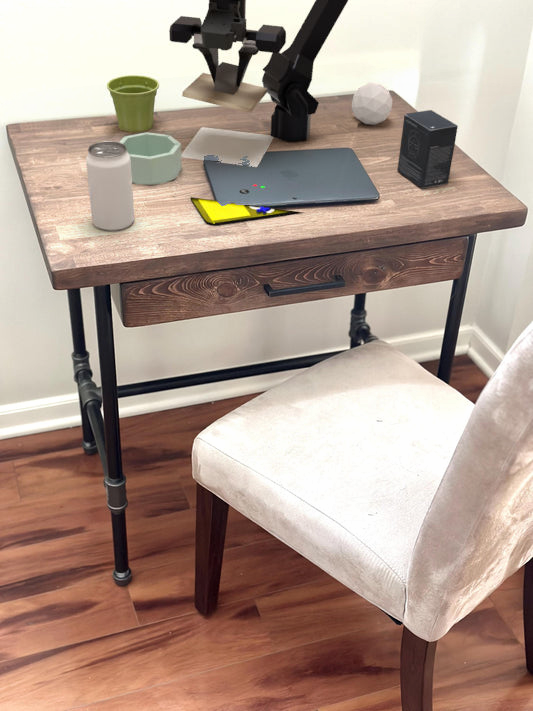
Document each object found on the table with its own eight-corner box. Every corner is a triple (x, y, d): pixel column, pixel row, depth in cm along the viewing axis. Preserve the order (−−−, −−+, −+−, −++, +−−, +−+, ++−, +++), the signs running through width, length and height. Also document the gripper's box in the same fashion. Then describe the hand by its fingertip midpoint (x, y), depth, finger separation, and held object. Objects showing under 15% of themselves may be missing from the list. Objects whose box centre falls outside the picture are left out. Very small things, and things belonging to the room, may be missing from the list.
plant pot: (152, 142, 158) (150, 95, 153) (103, 136, 160) (99, 90, 155) (167, 123, 166) (165, 78, 161) (120, 117, 167) (116, 73, 162)
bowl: (186, 167, 150) (186, 137, 147) (168, 192, 142) (167, 161, 139) (132, 160, 152) (130, 130, 149) (111, 184, 144) (108, 153, 141)
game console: (208, 231, 134) (208, 223, 133) (187, 200, 142) (186, 192, 141) (315, 214, 139) (315, 205, 138) (288, 185, 148) (288, 177, 147)
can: (93, 212, 136) (86, 139, 129) (135, 211, 137) (130, 139, 130) (90, 232, 131) (83, 158, 124) (133, 231, 132) (128, 158, 124)
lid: (266, 92, 154) (271, 65, 152) (250, 113, 145) (255, 84, 142) (202, 77, 156) (205, 50, 153) (182, 96, 146) (185, 67, 143)
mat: (274, 140, 161) (274, 135, 160) (256, 171, 150) (256, 167, 149) (201, 131, 163) (201, 126, 163) (179, 161, 152) (179, 156, 152)
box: (448, 184, 148) (459, 125, 142) (421, 190, 146) (430, 130, 140) (422, 166, 154) (431, 108, 148) (395, 171, 152) (403, 112, 146)
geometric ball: (359, 137, 170) (337, 105, 166) (376, 111, 174) (355, 79, 170) (389, 129, 164) (367, 95, 160) (406, 102, 168) (385, 68, 164)
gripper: (156, -4, 135) (160, 95, 144) (273, 8, 132) (269, 108, 141) (178, -21, 144) (180, 73, 153) (288, -10, 141) (284, 85, 150)
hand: (227, 85), depth 149 cm, fingers closed on lid, 4 cm apart
